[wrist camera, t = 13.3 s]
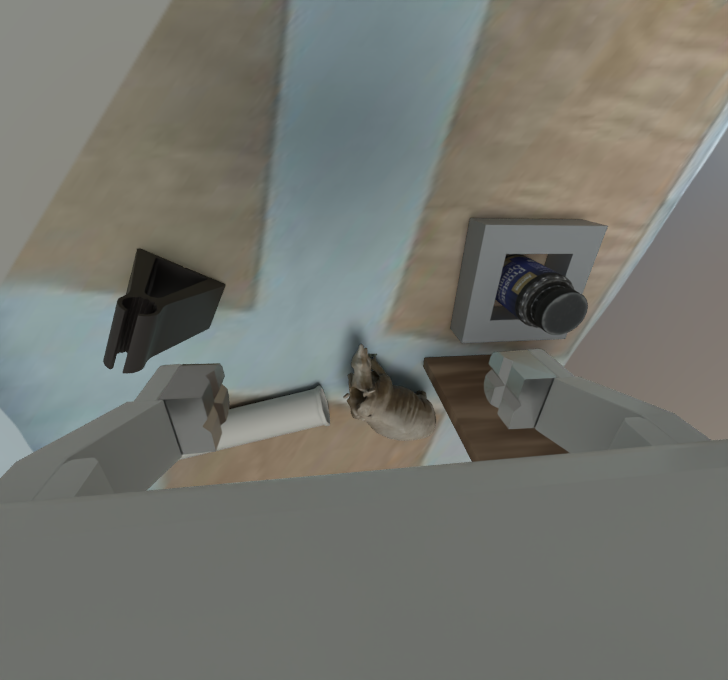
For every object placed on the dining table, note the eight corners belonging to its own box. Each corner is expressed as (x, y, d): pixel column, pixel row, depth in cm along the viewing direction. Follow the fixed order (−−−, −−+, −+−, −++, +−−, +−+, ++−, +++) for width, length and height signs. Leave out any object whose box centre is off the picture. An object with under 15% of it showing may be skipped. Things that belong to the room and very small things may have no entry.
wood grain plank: (428, 329, 44) (958, 1139, 8) (552, 324, 46) (1401, 932, 10) (423, 366, 47) (790, 1081, 11) (540, 360, 49) (1163, 930, 13)
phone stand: (126, 296, 36) (52, 352, 26) (139, 247, 34) (63, 288, 24) (209, 327, 40) (172, 388, 29) (226, 284, 37) (192, 334, 27)
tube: (154, 474, 45) (331, 431, 45) (127, 460, 41) (322, 413, 41) (163, 438, 48) (327, 398, 49) (138, 422, 44) (318, 378, 45)
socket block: (469, 218, 37) (485, 224, 34) (581, 219, 39) (607, 225, 36) (450, 328, 44) (461, 343, 41) (546, 324, 46) (565, 338, 42)
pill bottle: (495, 249, 39) (552, 280, 30) (539, 257, 41) (608, 288, 31) (477, 296, 42) (524, 338, 33) (519, 302, 44) (576, 344, 34)
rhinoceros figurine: (405, 442, 50) (391, 484, 36) (347, 375, 52) (311, 388, 38) (444, 410, 49) (446, 439, 34) (383, 342, 51) (360, 342, 36)
